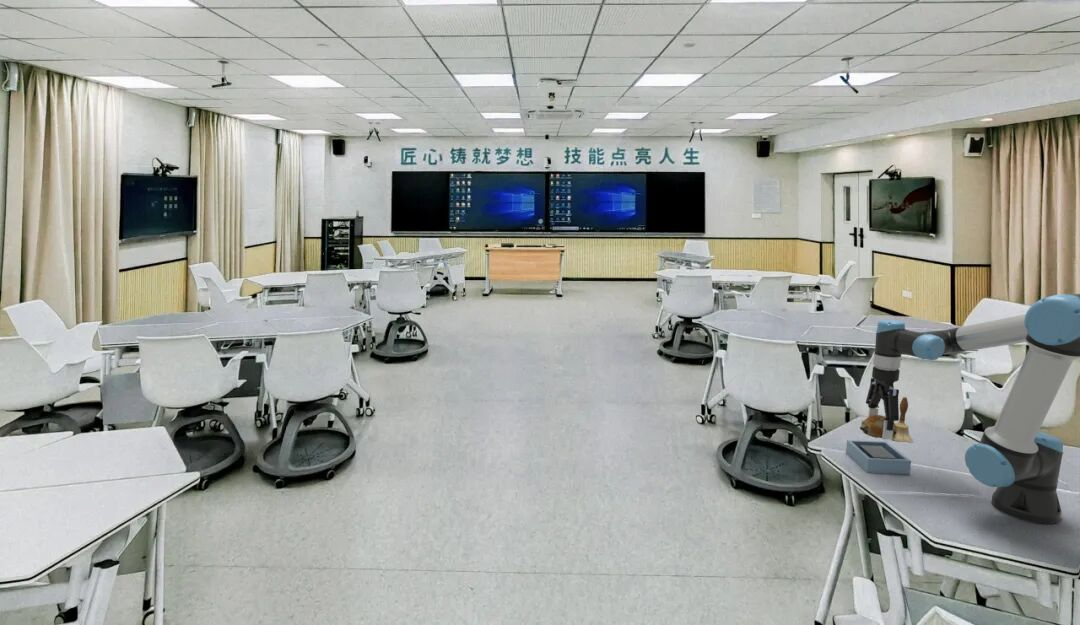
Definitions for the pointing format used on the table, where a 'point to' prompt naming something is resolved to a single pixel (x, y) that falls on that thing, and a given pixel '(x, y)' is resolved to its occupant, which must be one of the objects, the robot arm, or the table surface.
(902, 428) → the hand bell
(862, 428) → the bread roll
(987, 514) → the table surface
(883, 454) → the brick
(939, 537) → the table surface
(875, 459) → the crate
